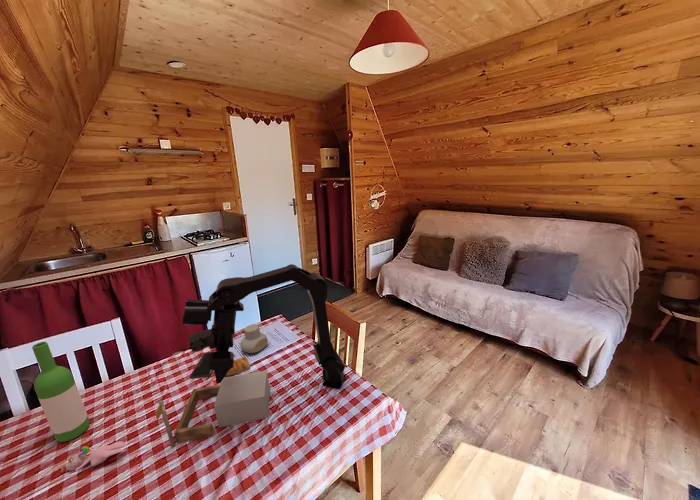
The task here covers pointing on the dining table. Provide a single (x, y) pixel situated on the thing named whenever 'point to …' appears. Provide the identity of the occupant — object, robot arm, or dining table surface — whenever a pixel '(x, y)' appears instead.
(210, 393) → the walnut pocket
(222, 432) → the dining table surface
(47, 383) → the wine bottle
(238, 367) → the pastry
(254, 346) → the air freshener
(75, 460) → the rabbit figure
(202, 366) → the phone
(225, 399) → the beige box
